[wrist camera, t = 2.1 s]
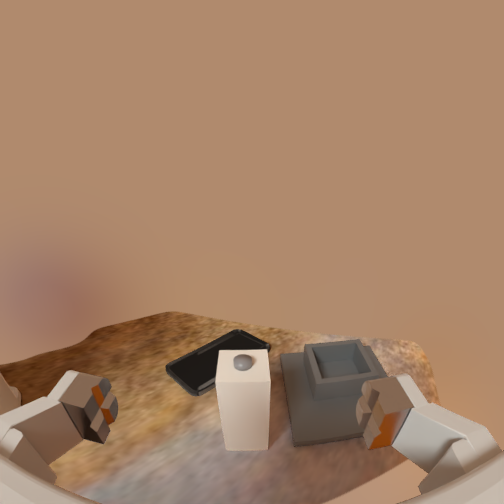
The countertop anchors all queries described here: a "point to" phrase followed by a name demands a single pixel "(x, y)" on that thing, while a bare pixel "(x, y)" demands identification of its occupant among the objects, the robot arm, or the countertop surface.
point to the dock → (327, 389)
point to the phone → (209, 361)
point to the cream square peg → (244, 398)
